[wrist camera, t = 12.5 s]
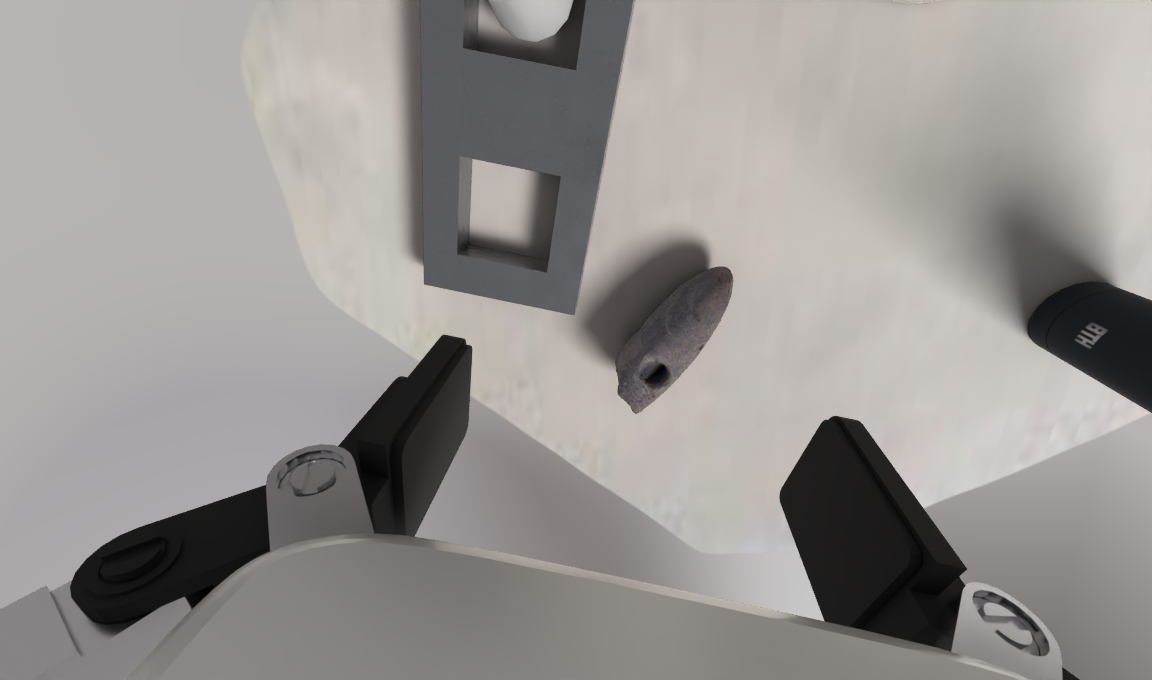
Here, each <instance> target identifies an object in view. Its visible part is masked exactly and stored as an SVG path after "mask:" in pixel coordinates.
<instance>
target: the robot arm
mask: <svg viewBox="0 0 1152 680" xmlns="http://www.w3.org/2000/svg"><path fill="white" fill-rule="evenodd" d="M892 1H895V2H898V3H908V4H923V3H930V2H937V1H941V0H892ZM471 365H472V346H470V345H466V340H465V339H463V338H458V337H453V336H449V335H442V336H441V337H440V338H439V340H438V341H437V342H436V343H435V345H434V346H433V347H432V348H431V349H430V351H429V352H428V353H427V354H426V356H425V357H424V358H423V359H422V360H421V362H420V363H419V364H418V365H417V367H416V368H415V369H414V370H413V371H412V373H411V374H410V375H409V376H408V378H407V377H403V376H402V377H398V378H397V379H396V380H395V381H394V382H393V383H392V384H391V385H390V386H389V387H388V389H387V390H386V391H385V392H384V393H383V395H382V396H381V397H380V398H379V399H378V400H377V402H376V403H375V404H374V405H373V406H372V407H371V409H370V410H369V411H368V412H367V413H366V415H364V417H363V418H362V419H361V420H360V421H359V423H358V424H357V425H356V426H355V427H354V428H353V429H352V431H351V432H350V433H349V434H348V435H347V436H346V438H345V439H344V440H343V441H342V442H341V444H340V445H339V446H335V445H322V444H321V445H314V446H309V447H305V448H302V449H299V450H297V451H295V452H293V453H291V454H289V455H287V456H285V457H284V458H282V459H281V460H280V461H279V462H278V463H277V464H276V465H275V466H273V468H272V470H271V471H270V473H269V474H268V476H267V481H266V485H265V486H261V487H258V488H255V489H252V490H249V491H247V492H243V493H240V494H237V495H234V496H231V497H228V498H225V499H222V500H219V501H216V502H213V503H210V504H208V505H204V506H202V507H199V508H196V509H193V510H190V511H187V512H184V513H181V514H178V515H175V516H172V517H169V518H166V519H163V520H160V521H157V522H154V523H151V524H148V525H145V526H142V527H139V528H136V529H134V530H132V531H129V532H127V533H124V534H122V535H120V536H118V537H116V538H115V539H113V540H112V541H110V542H108V543H106V544H105V545H103V546H102V547H100V548H99V549H98V550H97V551H95V552H94V553H93V554H92V555H91V556H90V557H88V558H87V559H86V560H85V562H84V563H83V564H82V565H81V566H80V568H79V569H78V570H77V572H76V573H75V575H74V577H73V580H72V581H70V582H68V583H66V584H64V585H63V586H61V587H59V588H57V589H55V590H53V591H50V590H49V588H48V587H47V586H45V587H42V588H40V589H39V590H37V591H35V592H33V593H31V594H29V595H27V596H25V597H23V598H21V599H19V600H17V601H15V602H14V603H11V604H10V605H8V606H6V607H4V608H2V609H0V680H125V679H126V680H1079V679H1078V678H1076V677H1075V676H1074V675H1072V674H1071V673H1069V672H1068V671H1067V670H1065V669H1064V668H1063V667H1062V657H1061V653H1060V649H1059V645H1058V644H1057V642H1056V640H1055V639H1054V637H1053V635H1052V634H1051V632H1050V631H1049V630H1048V629H1047V628H1046V626H1045V625H1044V624H1043V623H1042V622H1041V621H1040V619H1038V618H1037V617H1036V616H1035V615H1034V614H1033V613H1032V612H1030V610H1029V609H1028V608H1026V607H1025V606H1024V605H1022V604H1021V603H1020V602H1018V601H1017V600H1016V599H1014V598H1013V597H1011V596H1010V595H1008V594H1006V593H1004V592H1003V591H1001V590H999V589H997V588H995V587H992V586H989V585H987V584H984V583H977V582H972V583H969V584H966V585H964V583H963V582H962V580H961V579H960V577H959V576H960V575H961V574H962V573H963V572H964V571H966V570H967V568H966V567H965V565H964V564H963V563H962V561H961V560H960V558H959V557H958V556H957V554H956V553H955V552H954V550H953V549H952V547H951V546H950V545H949V543H948V542H947V540H946V539H945V538H944V536H943V535H942V534H941V532H940V531H939V529H938V528H937V527H936V525H935V524H934V522H933V521H932V520H931V518H930V517H929V516H928V514H927V513H926V512H925V510H924V509H923V507H922V506H921V504H920V503H919V502H918V500H917V499H916V498H915V496H914V495H913V493H912V492H911V491H910V489H909V488H908V486H907V485H906V484H905V482H904V481H903V480H902V478H901V477H900V475H899V474H898V473H897V471H896V470H895V468H894V467H893V466H892V464H891V463H890V462H889V460H888V459H887V457H886V456H885V455H884V453H883V452H882V450H881V449H880V448H879V446H878V445H877V444H876V442H875V441H874V439H873V438H872V437H871V435H870V434H869V432H868V431H867V430H866V428H865V427H864V426H863V424H862V423H861V422H860V421H857V420H853V419H848V418H843V417H839V416H833V417H831V418H830V419H829V420H824V421H823V422H822V423H821V424H820V426H819V428H818V429H817V431H816V433H815V434H814V436H813V437H812V439H811V441H810V442H809V444H808V446H807V447H806V449H805V451H804V452H803V454H802V456H801V457H800V459H799V460H798V462H797V464H796V465H795V467H794V469H793V470H792V472H791V474H790V475H789V477H788V478H787V480H786V482H785V483H784V485H783V487H782V489H781V491H780V503H781V506H782V508H783V511H784V514H785V516H786V519H787V522H788V525H789V527H790V530H791V533H792V535H793V538H794V541H795V543H796V546H797V549H798V551H799V554H800V557H801V559H802V562H803V565H804V567H805V570H806V573H807V575H808V578H809V580H810V583H811V586H812V589H813V591H814V594H815V597H816V599H817V602H818V605H819V607H820V610H821V613H822V615H823V618H824V621H825V622H824V621H820V620H815V619H811V618H806V617H801V616H797V615H793V614H788V613H783V612H779V611H775V610H770V609H765V608H761V607H756V606H752V605H747V604H743V603H738V602H733V601H728V600H724V599H719V598H715V597H710V596H706V595H701V594H696V593H692V592H687V591H682V590H677V589H673V588H668V587H664V586H659V585H654V584H650V583H645V582H640V581H636V580H631V579H626V578H622V577H617V576H612V575H607V574H603V573H598V572H593V571H588V570H584V569H579V568H574V567H569V566H565V565H560V564H555V563H550V562H545V561H541V560H536V559H531V558H526V557H522V556H517V555H512V554H507V553H502V552H496V551H491V550H486V549H481V548H476V547H471V546H465V545H460V544H455V543H449V542H444V541H439V540H432V539H424V538H418V537H414V536H415V534H416V532H417V530H418V528H419V526H420V524H421V522H422V520H423V518H424V516H425V514H426V512H427V510H428V508H429V506H430V504H431V502H432V500H433V498H434V496H435V494H436V492H437V490H438V488H439V486H440V484H441V482H442V480H443V478H444V476H445V474H446V472H447V470H448V468H449V467H450V464H451V462H452V461H453V459H454V456H455V454H456V453H457V451H458V448H459V446H460V445H461V442H462V441H463V439H464V437H465V434H466V431H467V427H468V420H469V402H470V383H471Z"/></svg>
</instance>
